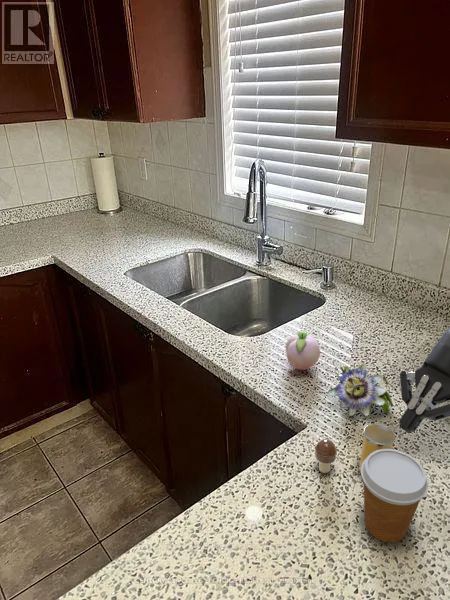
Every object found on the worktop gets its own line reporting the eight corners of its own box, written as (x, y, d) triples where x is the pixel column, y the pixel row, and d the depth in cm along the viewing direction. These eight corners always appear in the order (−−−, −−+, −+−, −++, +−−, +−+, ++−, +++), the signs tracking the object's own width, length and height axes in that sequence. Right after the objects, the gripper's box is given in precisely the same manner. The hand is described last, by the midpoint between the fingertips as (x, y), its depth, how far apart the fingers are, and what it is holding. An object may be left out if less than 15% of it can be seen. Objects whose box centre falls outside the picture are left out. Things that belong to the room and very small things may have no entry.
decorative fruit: (321, 379, 107) (323, 343, 103) (286, 379, 107) (287, 343, 103) (316, 357, 115) (318, 324, 111) (284, 357, 116) (285, 323, 112)
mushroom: (337, 465, 83) (340, 438, 80) (331, 480, 80) (334, 452, 77) (317, 458, 85) (319, 431, 82) (311, 472, 82) (312, 445, 79)
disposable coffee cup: (352, 496, 77) (358, 443, 71) (410, 503, 75) (421, 449, 70) (357, 548, 68) (365, 492, 63) (423, 557, 67) (437, 500, 61)
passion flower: (350, 433, 98) (319, 396, 94) (357, 397, 106) (329, 361, 102) (398, 425, 91) (367, 384, 87) (402, 386, 99) (374, 348, 95)
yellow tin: (390, 466, 82) (397, 428, 78) (385, 487, 78) (392, 448, 74) (362, 457, 85) (367, 420, 81) (355, 476, 80) (360, 438, 76)
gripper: (497, 377, 80) (442, 457, 79) (432, 345, 90) (383, 416, 90) (487, 362, 75) (428, 447, 75) (419, 330, 85) (367, 404, 85)
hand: (403, 430), depth 82 cm, fingers closed
